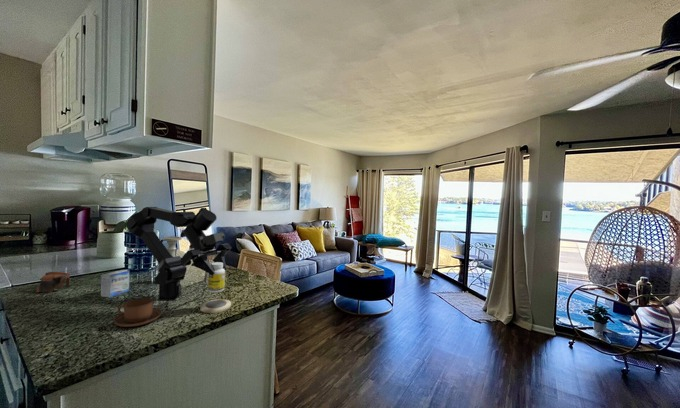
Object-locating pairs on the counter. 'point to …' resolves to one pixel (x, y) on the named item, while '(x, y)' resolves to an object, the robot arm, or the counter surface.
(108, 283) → the medicine box
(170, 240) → the candle holder
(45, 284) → the reddish brown angular block
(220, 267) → the supplement bottle
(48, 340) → the counter surface
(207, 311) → the round plate
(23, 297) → the counter surface
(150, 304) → the cup and saucer
